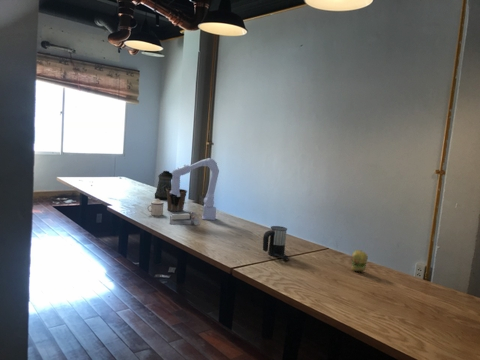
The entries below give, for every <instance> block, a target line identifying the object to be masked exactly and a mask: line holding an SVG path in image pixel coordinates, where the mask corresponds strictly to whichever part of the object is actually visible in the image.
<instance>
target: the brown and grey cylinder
mask: <svg viewBox="0 0 480 360" xmlns="http://www.w3.org/2000/svg"><path fill="white" fill-rule="evenodd" d="M194 220H195V216H194V215H193V216H191V225H190V226H195V225H194Z"/></svg>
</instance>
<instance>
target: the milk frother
mask: <svg viewBox="0 0 480 360" xmlns="http://www.w3.org/2000/svg"><path fill="white" fill-rule="evenodd" d="M287 231H288V228H287V227H284V226H281V225H279V226H278V225H271V226H270V230H267V231H265V232H264V234H263V237H262V251H263V252H267V254H268V255H270V256H272V257H280V258H281V259H282V260H283V261H286V262H287V261H288V260H290V257H289V256H288V255H286V254H285V251H286V248H285V247H286V241H287V240H286V239H287Z"/></svg>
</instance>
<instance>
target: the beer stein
mask: <svg viewBox="0 0 480 360" xmlns="http://www.w3.org/2000/svg"><path fill="white" fill-rule="evenodd" d="M172 176H173V175H172V172H170V170H163V171H162V172H161V173H160V174H159V175H158V182H157V188H156V189H155V193H154V199H155V200H156V199H159V200H160V201H167V191H166V189H171V188H172Z"/></svg>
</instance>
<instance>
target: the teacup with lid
mask: <svg viewBox="0 0 480 360" xmlns="http://www.w3.org/2000/svg"><path fill="white" fill-rule="evenodd" d="M164 204H165V203H164V201H162V200H159V199H155V200H154V201H151V204H149V205H147V211H148V212H150V215H151V216H155V217H160V216H163V215H164ZM149 207H150V209H149Z"/></svg>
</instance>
